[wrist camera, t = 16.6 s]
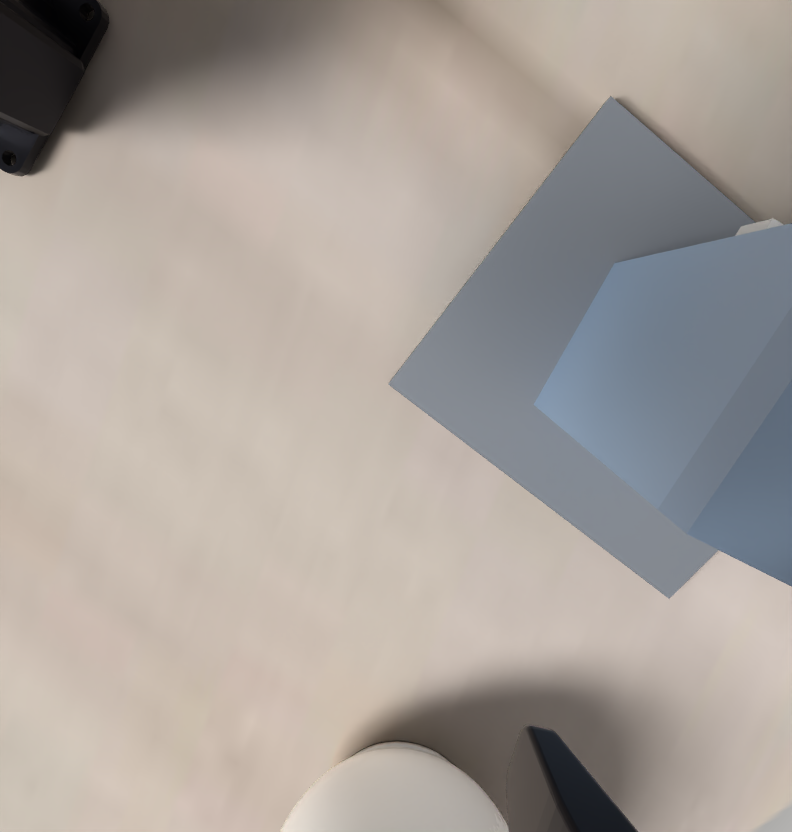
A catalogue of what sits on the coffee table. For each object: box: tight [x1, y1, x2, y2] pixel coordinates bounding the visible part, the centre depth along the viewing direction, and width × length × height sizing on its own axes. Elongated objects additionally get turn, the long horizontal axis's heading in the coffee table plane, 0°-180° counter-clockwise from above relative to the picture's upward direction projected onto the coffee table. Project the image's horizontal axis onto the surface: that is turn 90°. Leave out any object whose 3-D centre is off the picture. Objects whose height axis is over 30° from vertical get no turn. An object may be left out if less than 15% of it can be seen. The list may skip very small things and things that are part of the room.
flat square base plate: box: [389, 96, 756, 598], centre depth 17 cm, size 14×12×4 cm
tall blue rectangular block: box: [534, 218, 792, 586], centre depth 13 cm, size 8×6×11 cm
